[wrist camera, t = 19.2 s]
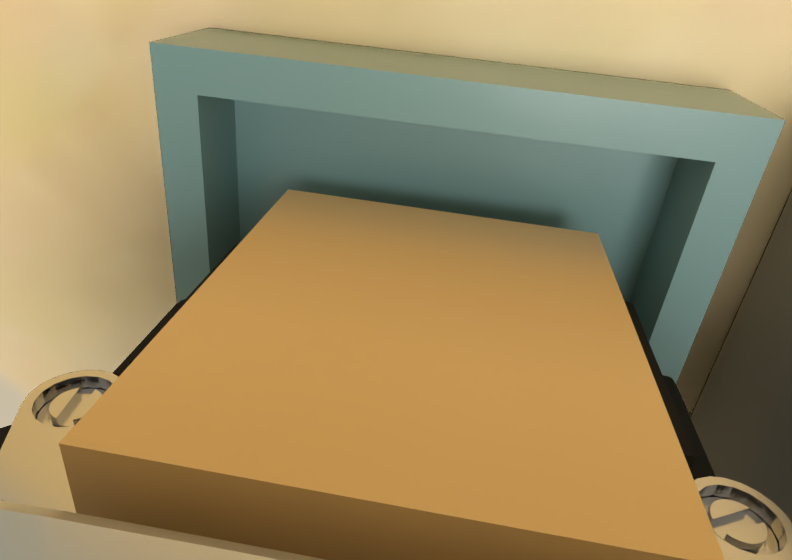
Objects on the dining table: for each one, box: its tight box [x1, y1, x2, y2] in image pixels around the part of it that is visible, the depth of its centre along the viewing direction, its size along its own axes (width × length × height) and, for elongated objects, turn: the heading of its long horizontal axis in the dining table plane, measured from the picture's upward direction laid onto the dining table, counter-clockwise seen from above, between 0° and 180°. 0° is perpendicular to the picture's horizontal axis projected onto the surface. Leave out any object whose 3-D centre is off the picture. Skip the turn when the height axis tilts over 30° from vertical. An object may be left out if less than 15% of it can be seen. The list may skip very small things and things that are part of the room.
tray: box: [150, 28, 785, 384], centre depth 14 cm, size 13×11×2 cm
